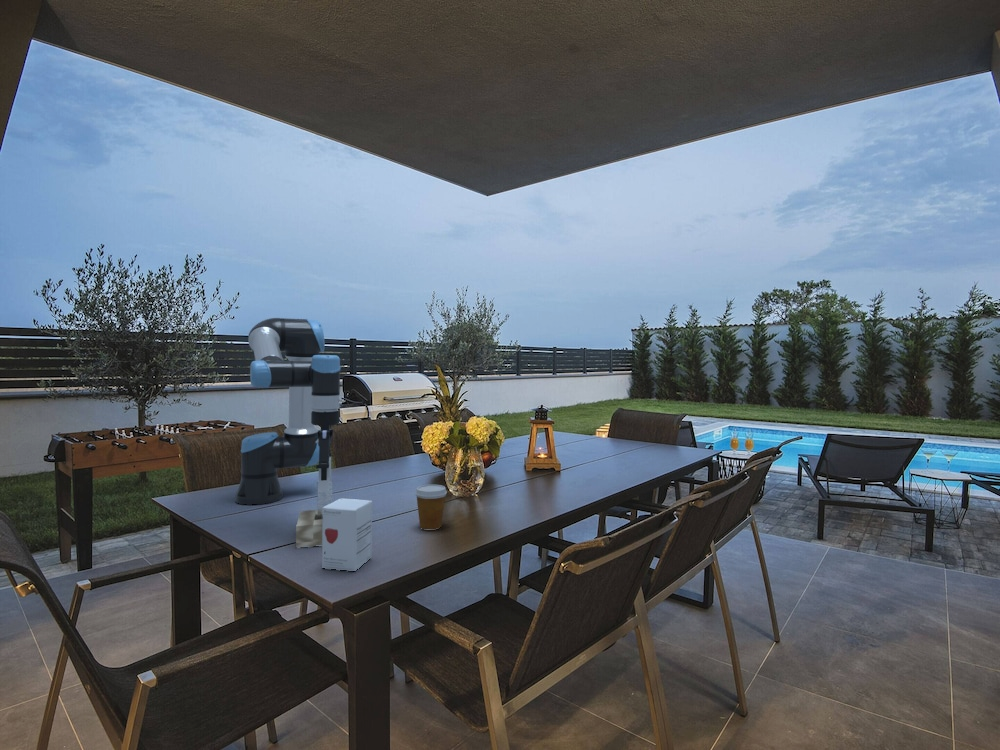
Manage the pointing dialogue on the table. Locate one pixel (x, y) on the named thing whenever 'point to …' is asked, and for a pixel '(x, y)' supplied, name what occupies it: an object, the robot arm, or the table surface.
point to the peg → (323, 499)
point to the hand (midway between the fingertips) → (325, 485)
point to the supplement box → (346, 534)
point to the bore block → (308, 529)
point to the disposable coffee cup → (430, 505)
